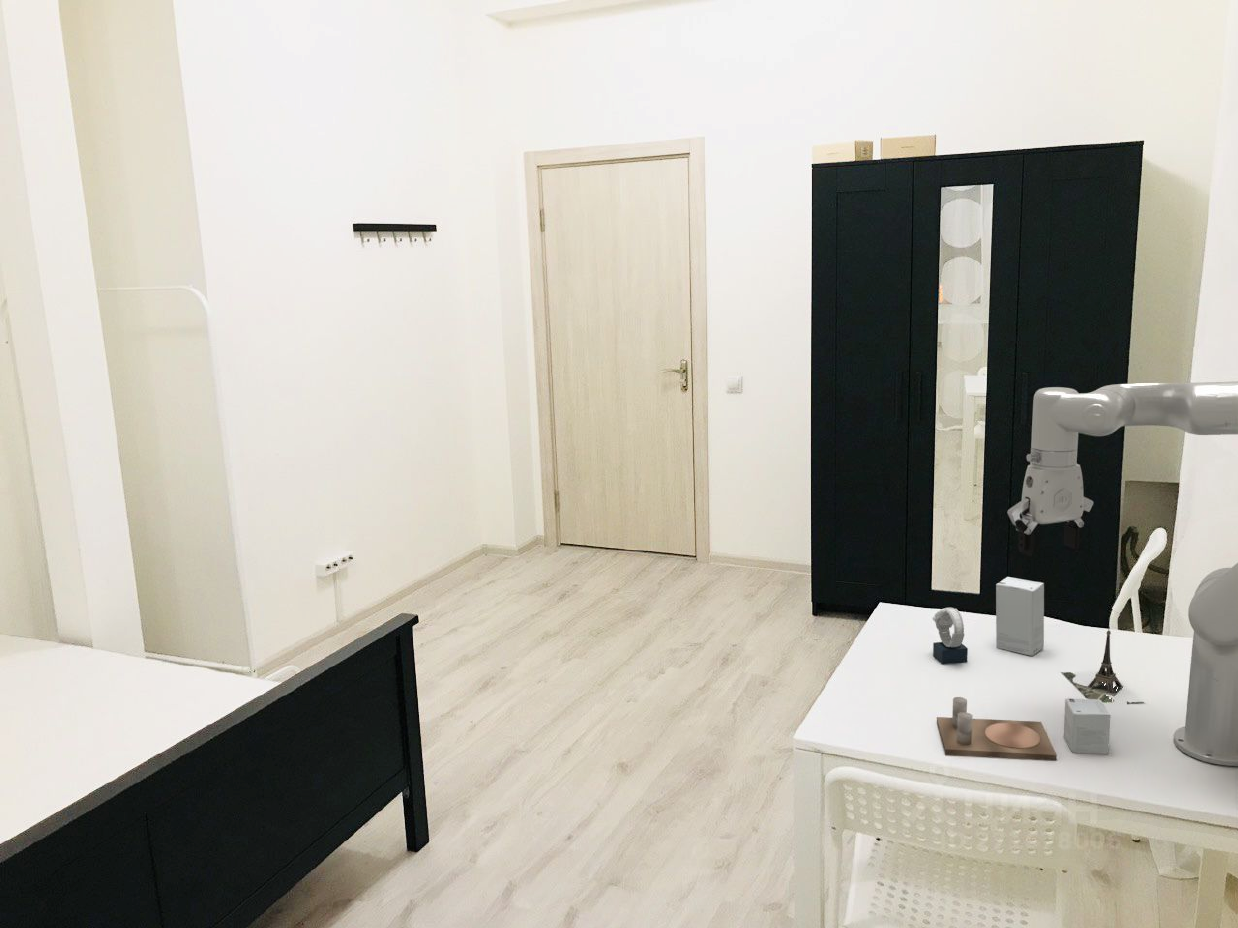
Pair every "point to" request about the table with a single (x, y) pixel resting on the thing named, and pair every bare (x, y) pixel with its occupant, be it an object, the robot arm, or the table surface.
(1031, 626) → the skincare box
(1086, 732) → the skincare box
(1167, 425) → the robot arm
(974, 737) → the board
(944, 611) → the watch
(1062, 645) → the table surface
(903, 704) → the table surface
